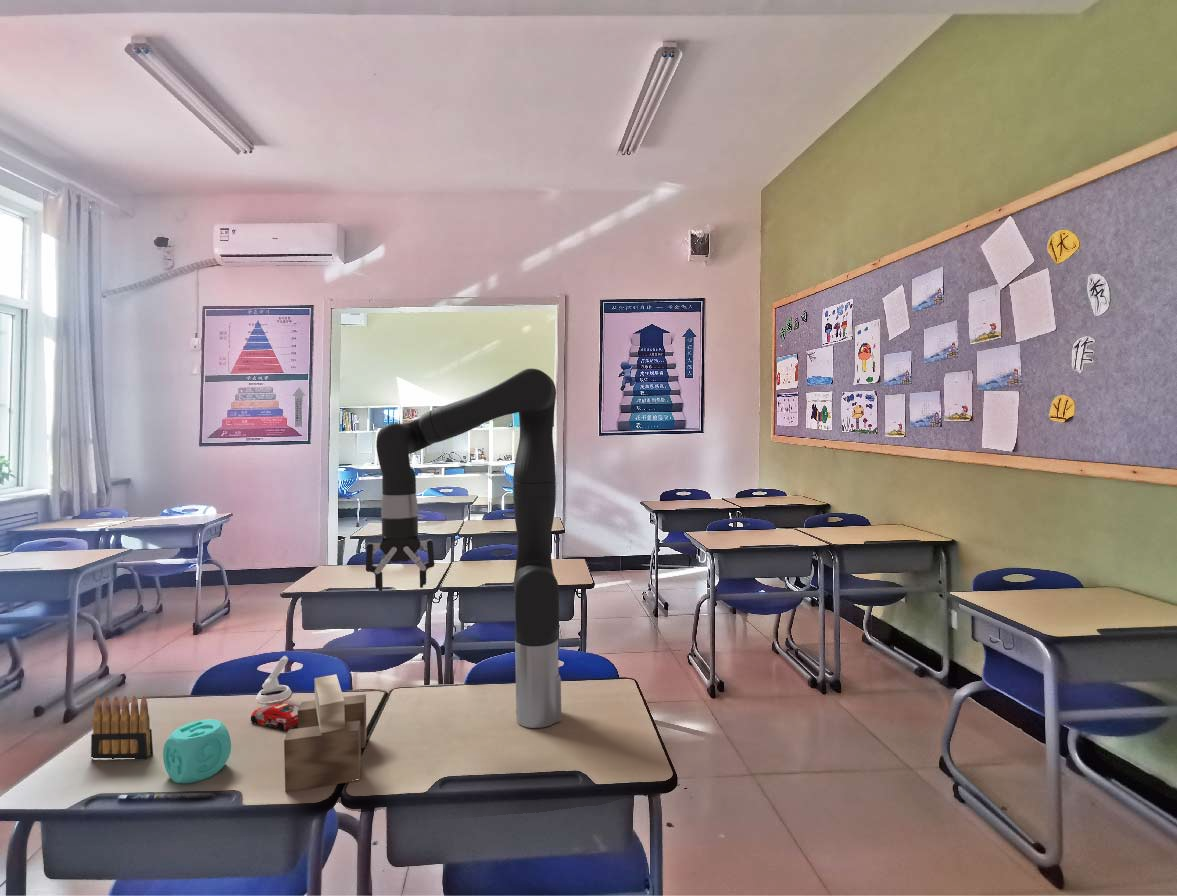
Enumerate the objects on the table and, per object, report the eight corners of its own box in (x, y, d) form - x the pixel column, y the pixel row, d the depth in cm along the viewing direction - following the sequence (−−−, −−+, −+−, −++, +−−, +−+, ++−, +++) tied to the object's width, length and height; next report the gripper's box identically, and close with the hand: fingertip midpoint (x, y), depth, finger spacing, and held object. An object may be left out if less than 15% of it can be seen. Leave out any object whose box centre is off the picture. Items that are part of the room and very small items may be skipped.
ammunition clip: (90, 760, 116) (88, 698, 116) (98, 755, 118) (96, 694, 118) (146, 759, 116) (145, 697, 116) (153, 754, 118) (152, 693, 118)
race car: (245, 723, 131) (245, 705, 131) (268, 713, 136) (267, 695, 136) (288, 734, 126) (288, 715, 126) (310, 723, 131) (309, 704, 131)
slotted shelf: (366, 738, 123) (365, 694, 123) (359, 780, 108) (358, 730, 108) (302, 746, 120) (301, 701, 120) (285, 791, 105) (284, 740, 104)
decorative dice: (208, 756, 117) (207, 715, 117) (232, 767, 113) (231, 724, 113) (162, 776, 110) (161, 732, 110) (186, 788, 106) (184, 743, 106)
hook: (301, 681, 140) (273, 667, 138) (275, 720, 141) (247, 706, 140) (312, 663, 147) (286, 649, 146) (287, 700, 149) (260, 687, 147)
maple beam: (336, 699, 121) (336, 674, 121) (344, 728, 109) (344, 700, 109) (315, 703, 119) (314, 678, 119) (320, 733, 107) (319, 705, 107)
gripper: (433, 511, 138) (434, 582, 138) (366, 514, 134) (368, 587, 134) (433, 515, 130) (435, 590, 131) (363, 518, 127) (365, 595, 127)
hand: (401, 588), depth 132 cm, fingers open, 8 cm apart
